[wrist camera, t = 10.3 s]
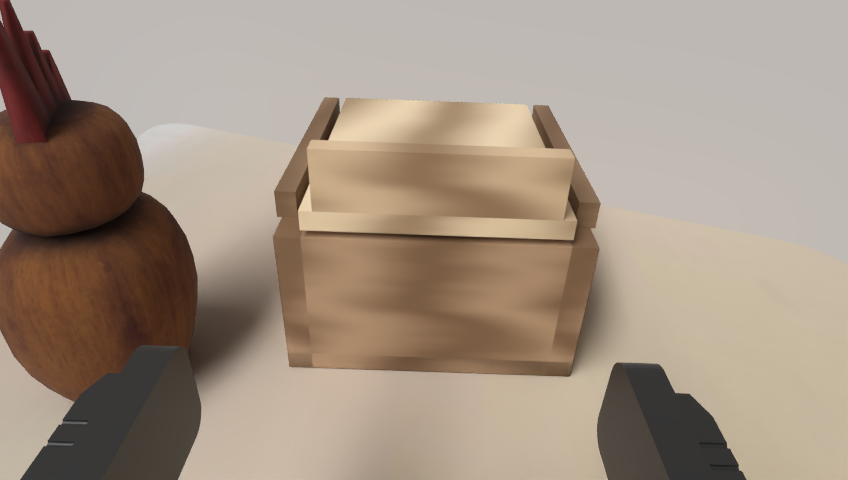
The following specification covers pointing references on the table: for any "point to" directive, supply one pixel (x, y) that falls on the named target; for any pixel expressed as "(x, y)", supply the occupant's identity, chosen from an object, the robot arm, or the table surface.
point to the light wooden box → (432, 286)
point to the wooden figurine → (80, 231)
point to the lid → (438, 172)
